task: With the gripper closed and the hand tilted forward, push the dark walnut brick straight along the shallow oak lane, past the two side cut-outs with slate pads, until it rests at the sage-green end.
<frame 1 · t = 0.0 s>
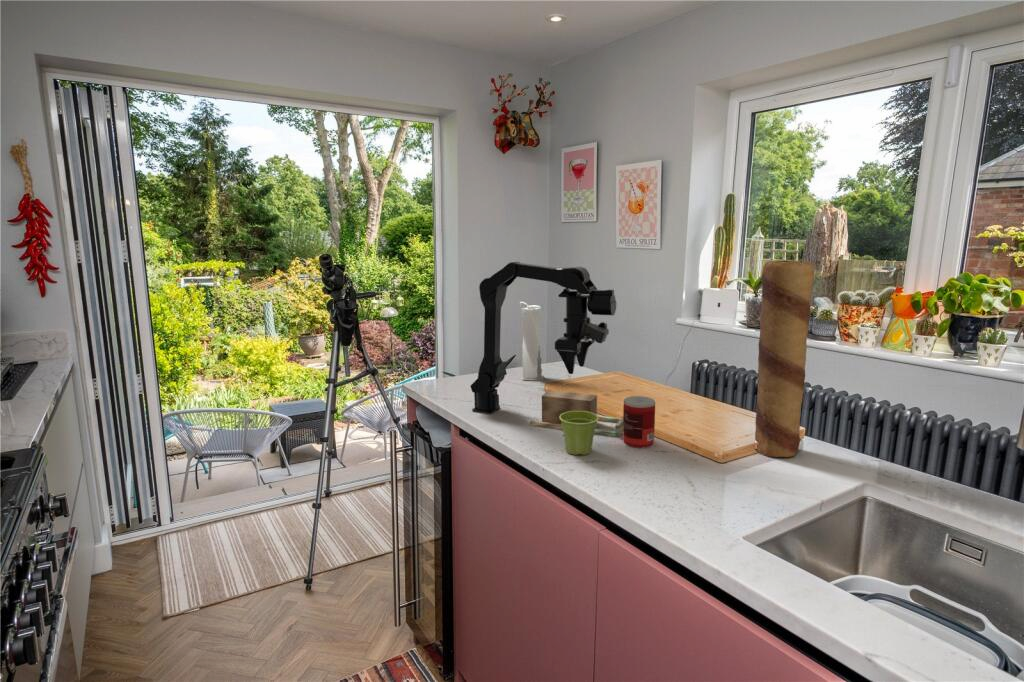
hand: (576, 370, 158), 15 cm above the worktop, tool pointing down, fingers open, 9 cm apart
plant pot: (578, 451, 139), on the worktop
skyscraper: (531, 378, 209), on the worktop
walnut block: (569, 423, 159), on the worktop
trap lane: (579, 423, 158), on the worktop
canned food: (638, 443, 143), on the worktop
wafer roll: (774, 451, 137), on the worktop
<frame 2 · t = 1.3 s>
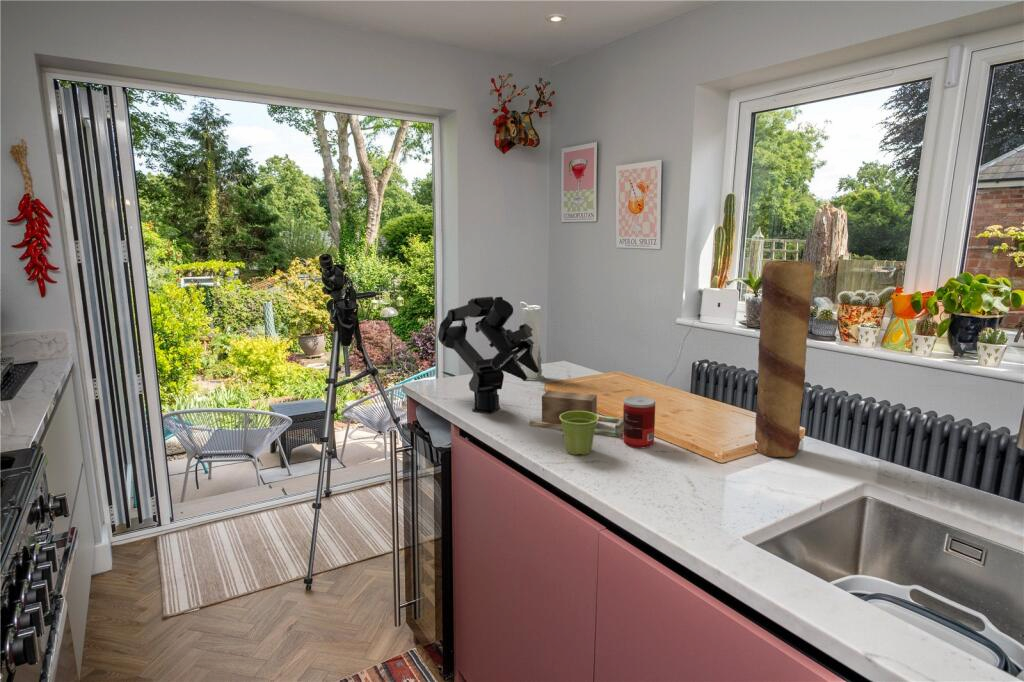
hand: (532, 375, 162), 12 cm above the worktop, tool tilted 45°, fingers open, 8 cm apart
nothing on the worktop moved.
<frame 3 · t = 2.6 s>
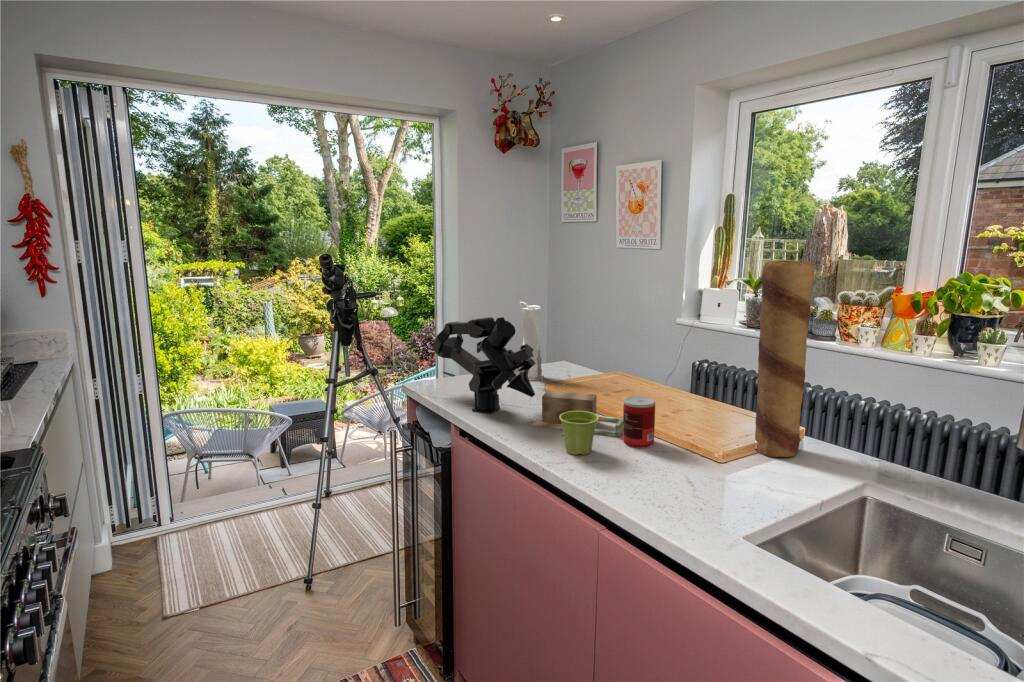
hand: (533, 395, 162), 7 cm above the worktop, tool tilted 45°, fingers closed
nothing on the worktop moved.
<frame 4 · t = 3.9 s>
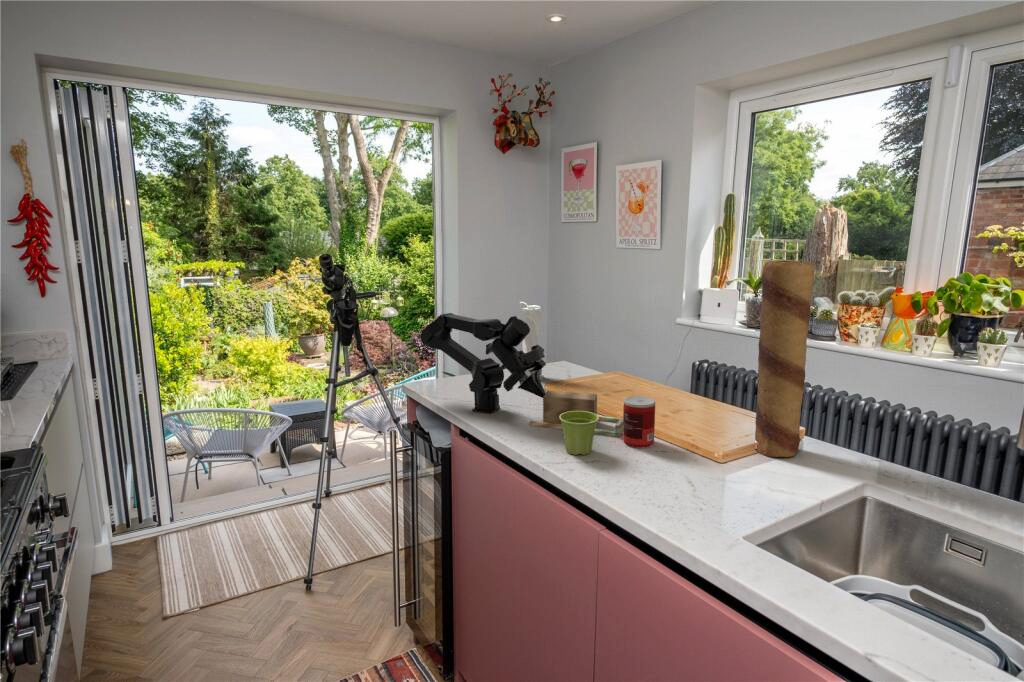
hand: (545, 396, 161), 7 cm above the worktop, tool tilted 45°, fingers closed
walnut block: (570, 423, 159), on the worktop, touching gripper
everything else where it was.
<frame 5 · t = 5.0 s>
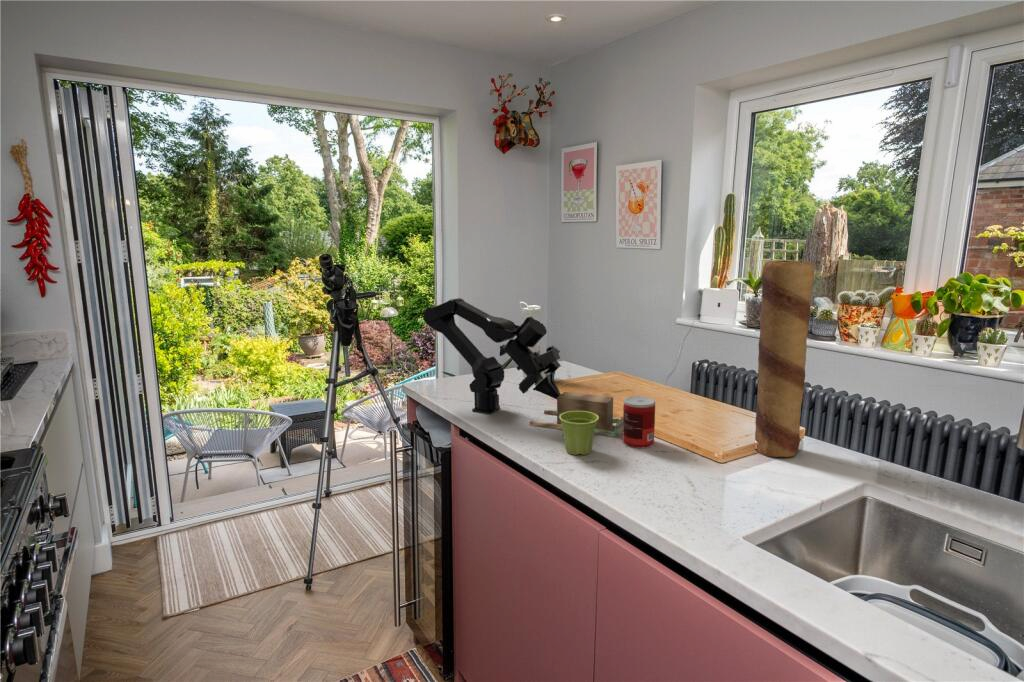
hand: (560, 398, 159), 7 cm above the worktop, tool tilted 45°, fingers closed, pressing on walnut block
walnut block: (584, 425, 157), on the worktop, touching gripper
everything else where it was.
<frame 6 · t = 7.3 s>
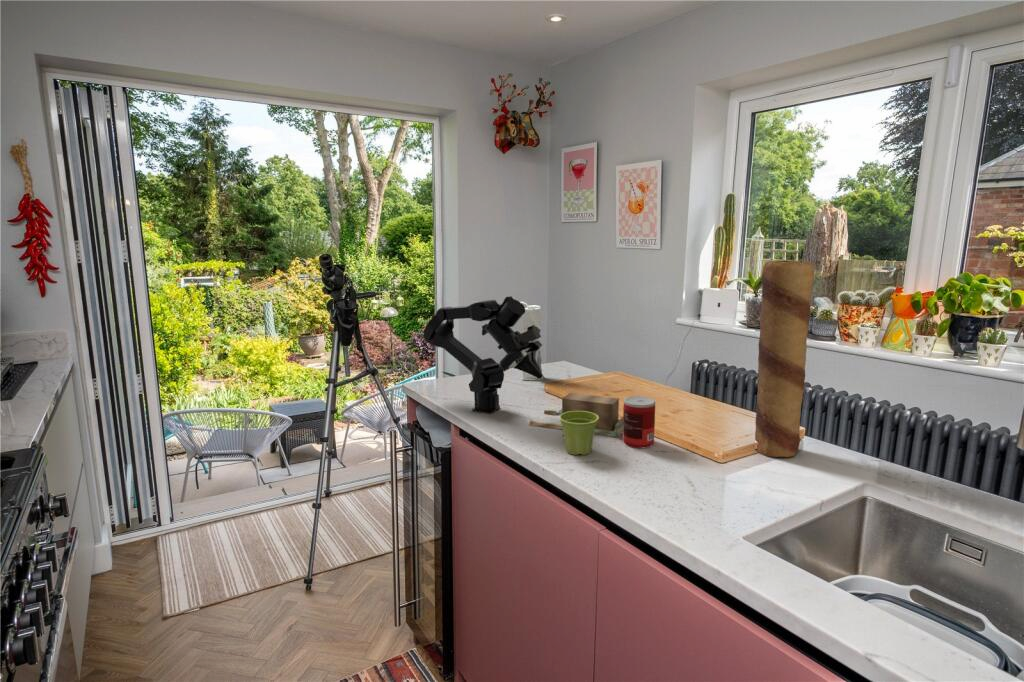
hand: (541, 377, 161), 12 cm above the worktop, tool tilted 45°, fingers closed
walnut block: (590, 426, 156), on the worktop
everything else where it was.
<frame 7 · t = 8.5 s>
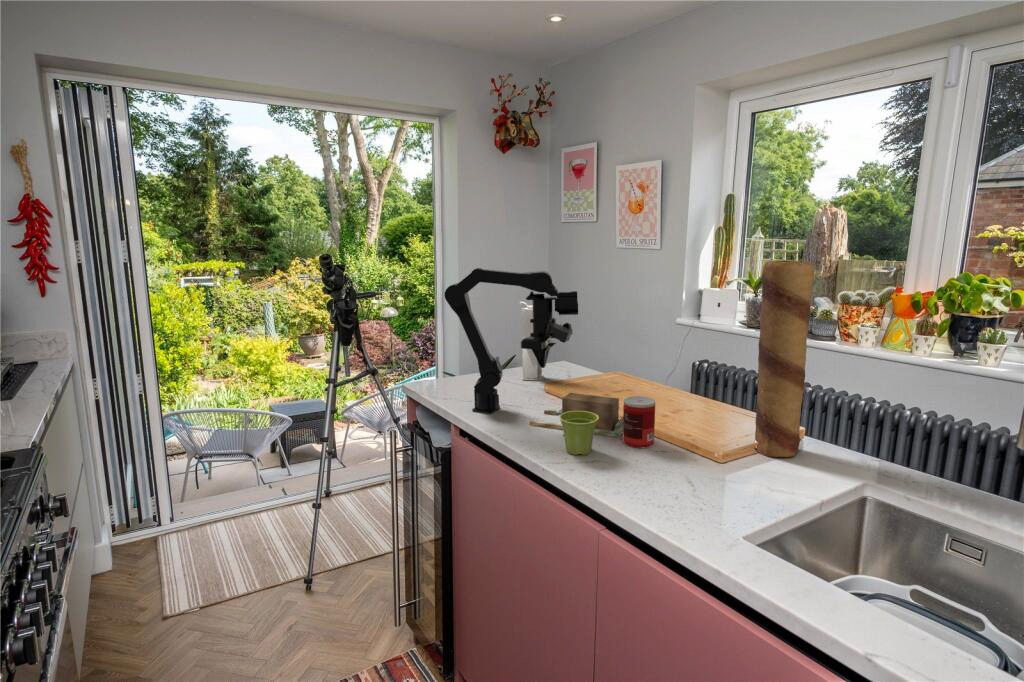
hand: (542, 367, 169), 13 cm above the worktop, tool pointing down, fingers closed
nothing on the worktop moved.
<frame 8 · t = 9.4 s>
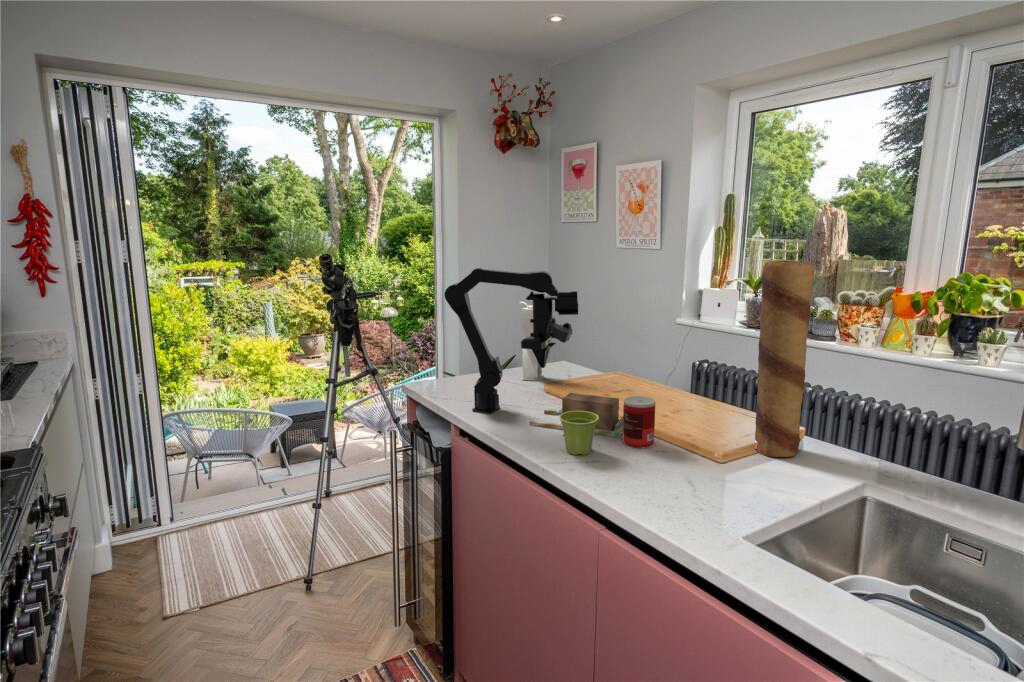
hand: (542, 367, 169), 13 cm above the worktop, tool pointing down, fingers closed
nothing on the worktop moved.
at the end: walnut block inside the target area (1.7 cm from its centre), on the worktop; walnut block tilted 0°; walnut block moved 6.2 cm from its start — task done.
